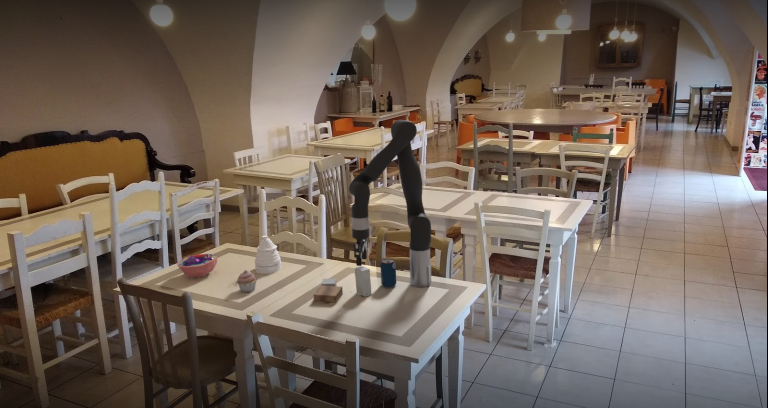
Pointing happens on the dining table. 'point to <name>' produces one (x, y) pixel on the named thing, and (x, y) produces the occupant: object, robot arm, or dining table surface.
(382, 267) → the soda can
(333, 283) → the grey block
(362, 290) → the skincare box
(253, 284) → the cupcake
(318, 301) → the walnut block
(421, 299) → the dining table surface
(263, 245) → the honey pot
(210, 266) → the cell model
